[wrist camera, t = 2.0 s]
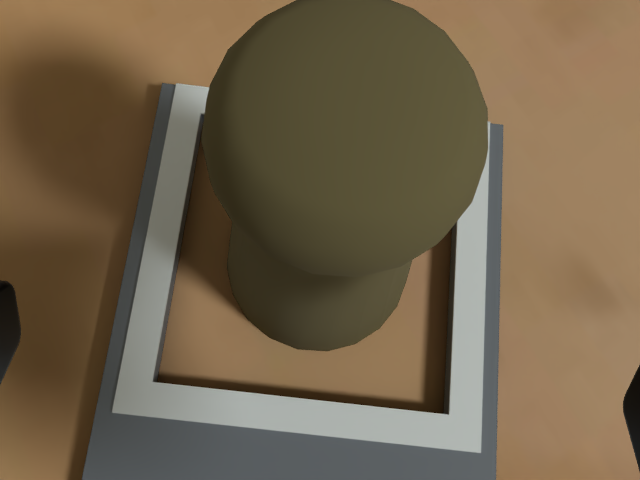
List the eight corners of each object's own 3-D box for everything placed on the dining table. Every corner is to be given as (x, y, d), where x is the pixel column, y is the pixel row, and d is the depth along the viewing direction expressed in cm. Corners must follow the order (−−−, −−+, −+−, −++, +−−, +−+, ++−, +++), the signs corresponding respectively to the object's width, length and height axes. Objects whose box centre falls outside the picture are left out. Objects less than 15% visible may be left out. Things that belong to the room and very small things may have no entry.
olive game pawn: (200, 213, 20) (108, -5, 10) (362, 151, 21) (438, -109, 11) (268, 382, 19) (246, 341, 8) (438, 307, 20) (613, 186, 9)
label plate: (478, 952, 15) (488, 979, 14) (1, 910, 15) (-13, 936, 14) (497, 132, 22) (504, 122, 21) (165, 91, 21) (161, 80, 21)
